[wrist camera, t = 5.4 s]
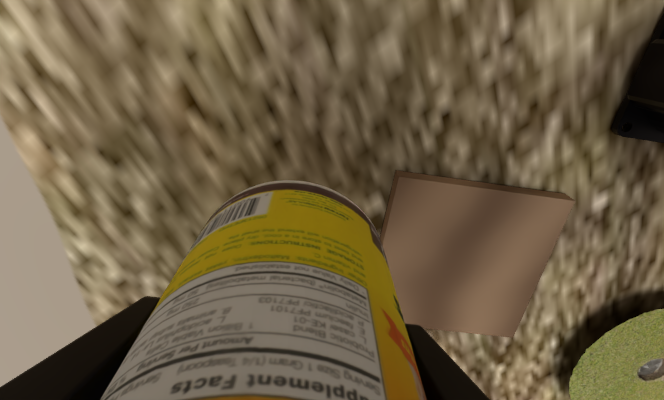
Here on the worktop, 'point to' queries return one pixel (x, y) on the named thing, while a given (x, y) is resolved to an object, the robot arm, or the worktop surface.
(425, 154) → the worktop surface
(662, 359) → the yellow-green flat disc
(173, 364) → the supplement bottle
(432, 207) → the walnut board
